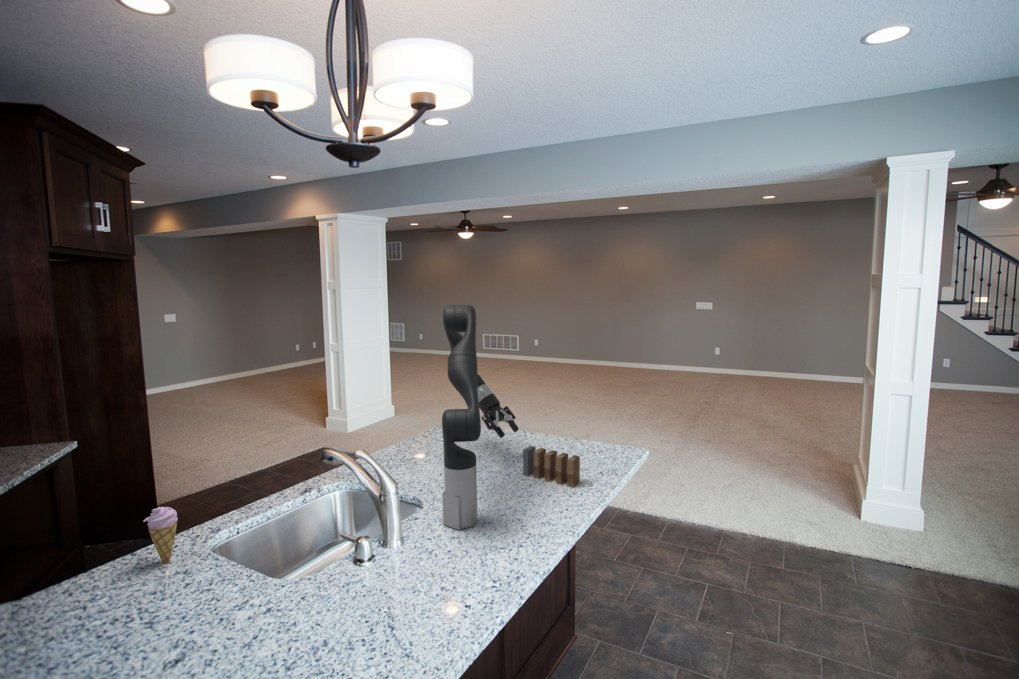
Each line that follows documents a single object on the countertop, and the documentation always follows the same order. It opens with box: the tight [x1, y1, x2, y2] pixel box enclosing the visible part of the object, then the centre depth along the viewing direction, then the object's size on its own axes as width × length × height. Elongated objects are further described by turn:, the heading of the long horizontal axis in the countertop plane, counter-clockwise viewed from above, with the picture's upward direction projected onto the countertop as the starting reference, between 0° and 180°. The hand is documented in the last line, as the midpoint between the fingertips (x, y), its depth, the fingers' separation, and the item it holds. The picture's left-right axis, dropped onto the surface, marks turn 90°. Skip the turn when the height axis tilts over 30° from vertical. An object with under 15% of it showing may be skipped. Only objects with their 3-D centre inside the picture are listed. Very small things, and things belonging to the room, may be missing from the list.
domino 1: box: [522, 445, 536, 477], centre depth 184 cm, size 5×2×10 cm, turn 144°
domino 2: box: [533, 447, 547, 480], centre depth 181 cm, size 5×2×10 cm, turn 144°
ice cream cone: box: [143, 506, 179, 564], centre depth 128 cm, size 7×6×15 cm
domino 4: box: [555, 452, 569, 485], centre depth 176 cm, size 5×2×10 cm, turn 144°
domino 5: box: [566, 454, 581, 489], centre depth 174 cm, size 5×2×10 cm, turn 144°
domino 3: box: [544, 449, 558, 483], centre depth 179 cm, size 5×2×10 cm, turn 144°
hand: (510, 433), depth 188 cm, fingers open, 8 cm apart
